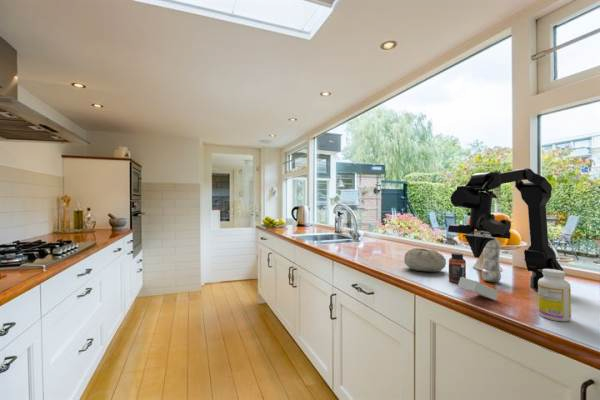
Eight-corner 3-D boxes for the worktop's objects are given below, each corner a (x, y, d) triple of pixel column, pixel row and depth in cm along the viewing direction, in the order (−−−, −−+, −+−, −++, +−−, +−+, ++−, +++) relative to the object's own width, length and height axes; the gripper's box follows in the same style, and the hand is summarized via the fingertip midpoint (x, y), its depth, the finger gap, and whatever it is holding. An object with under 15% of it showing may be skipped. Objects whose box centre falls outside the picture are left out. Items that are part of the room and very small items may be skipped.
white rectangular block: (481, 285, 96) (460, 276, 93) (498, 291, 90) (477, 281, 88) (478, 294, 96) (457, 285, 93) (495, 300, 90) (474, 291, 87)
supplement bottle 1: (468, 284, 108) (468, 255, 108) (451, 283, 109) (451, 254, 109) (462, 280, 114) (462, 252, 114) (446, 279, 115) (446, 251, 115)
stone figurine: (480, 281, 112) (480, 231, 113) (483, 278, 117) (483, 230, 118) (499, 284, 108) (499, 233, 108) (502, 281, 113) (502, 231, 113)
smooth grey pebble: (433, 266, 140) (433, 246, 140) (454, 275, 122) (454, 252, 122) (398, 266, 139) (398, 246, 139) (414, 275, 121) (414, 252, 121)
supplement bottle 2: (554, 312, 80) (554, 267, 80) (578, 322, 74) (577, 273, 74) (531, 312, 80) (531, 267, 80) (553, 322, 73) (553, 273, 74)
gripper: (474, 206, 83) (469, 259, 82) (528, 214, 86) (524, 265, 85) (448, 207, 94) (444, 253, 93) (497, 213, 97) (493, 258, 96)
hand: (476, 257), depth 92 cm, fingers closed
